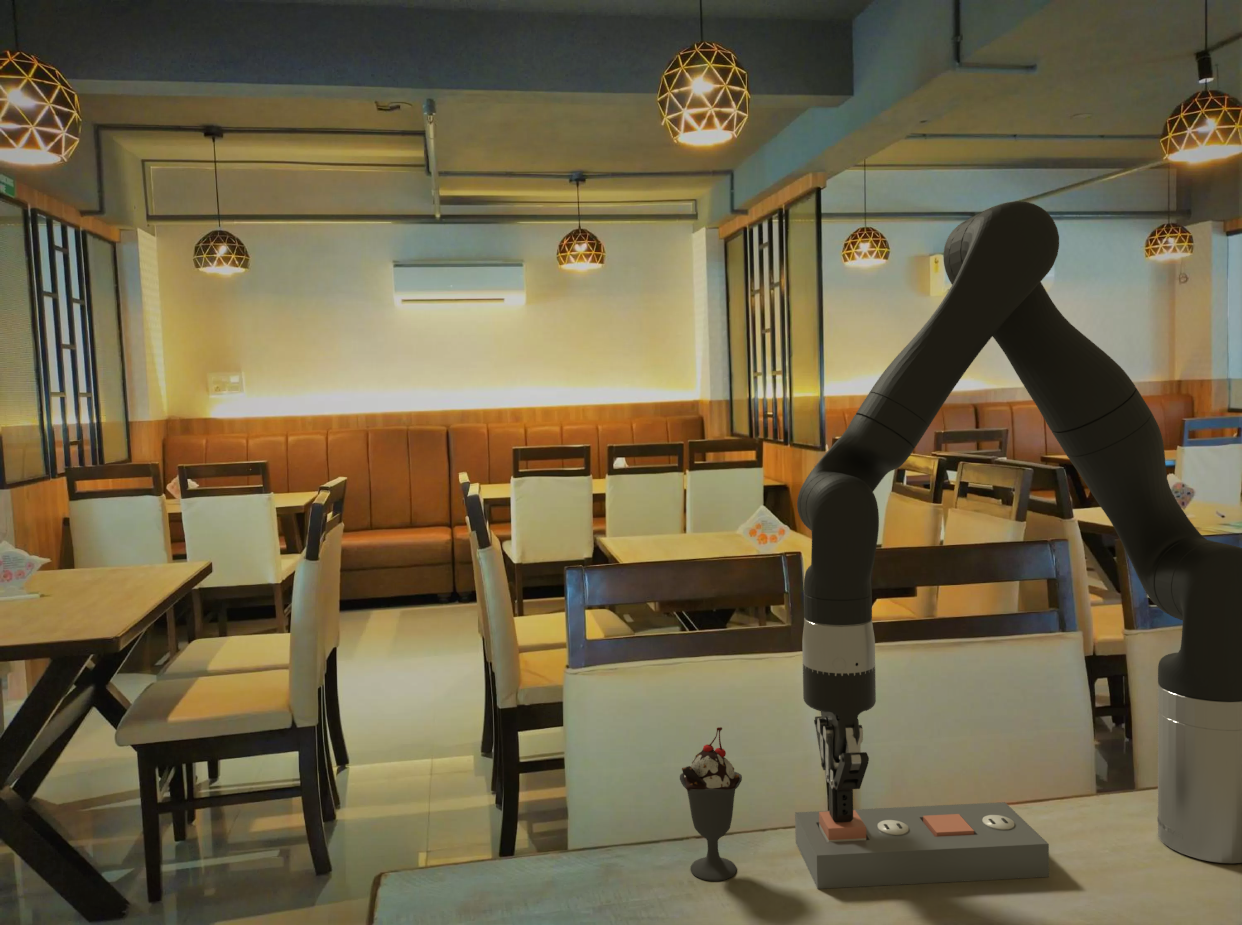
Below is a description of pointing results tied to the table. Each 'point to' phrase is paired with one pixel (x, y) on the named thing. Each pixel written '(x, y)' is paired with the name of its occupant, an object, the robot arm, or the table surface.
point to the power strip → (924, 848)
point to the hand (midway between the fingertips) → (841, 819)
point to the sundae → (711, 807)
